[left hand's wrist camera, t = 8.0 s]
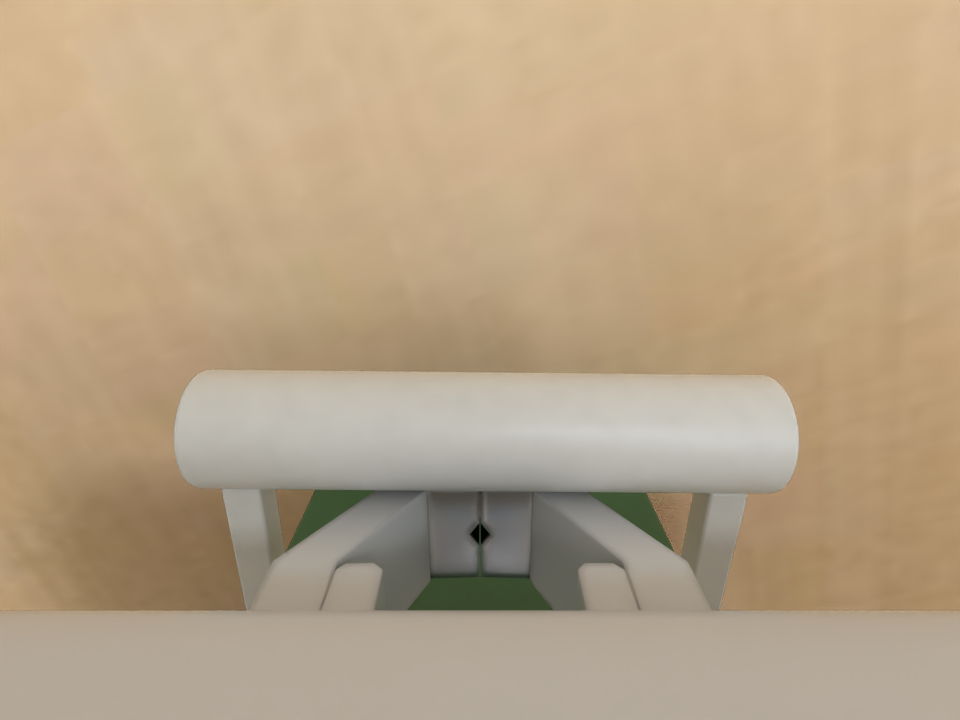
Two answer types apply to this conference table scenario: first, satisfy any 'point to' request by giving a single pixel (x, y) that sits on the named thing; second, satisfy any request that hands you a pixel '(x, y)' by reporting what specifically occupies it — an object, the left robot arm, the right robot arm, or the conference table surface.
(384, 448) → the drawer
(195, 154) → the conference table surface
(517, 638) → the left robot arm
